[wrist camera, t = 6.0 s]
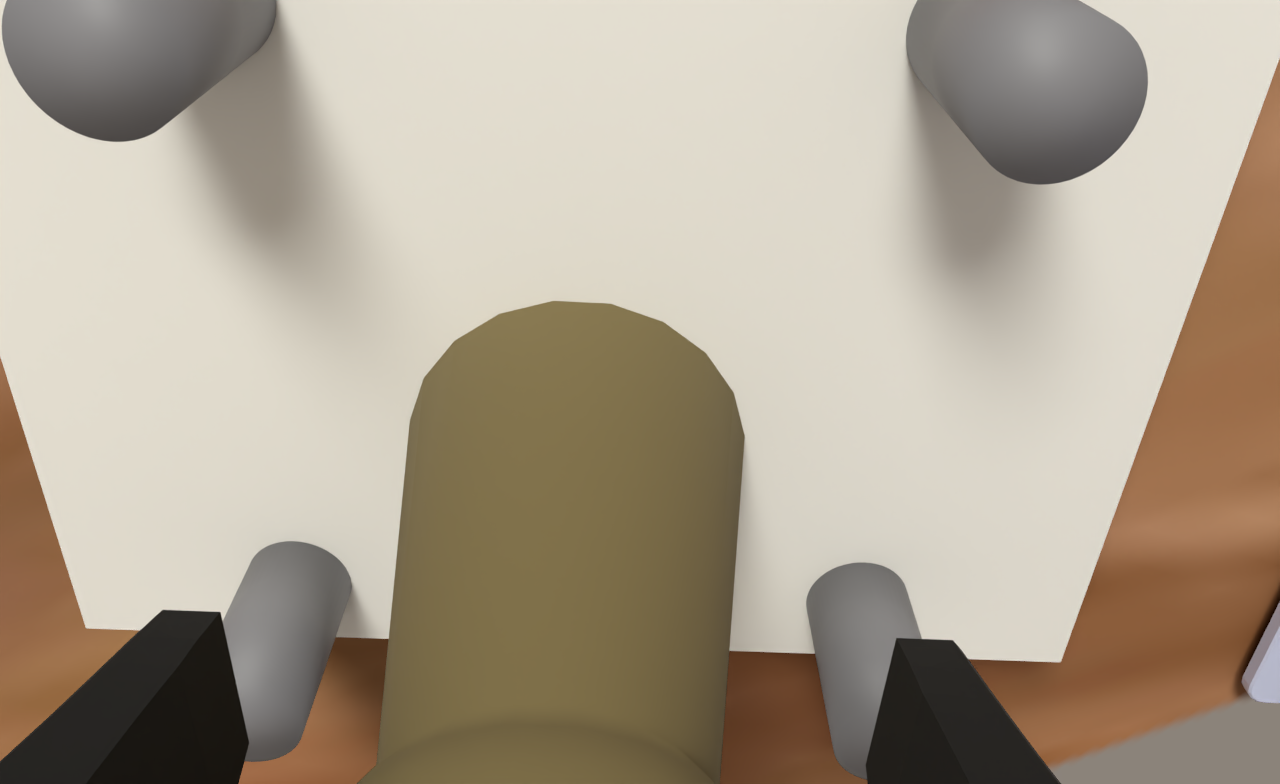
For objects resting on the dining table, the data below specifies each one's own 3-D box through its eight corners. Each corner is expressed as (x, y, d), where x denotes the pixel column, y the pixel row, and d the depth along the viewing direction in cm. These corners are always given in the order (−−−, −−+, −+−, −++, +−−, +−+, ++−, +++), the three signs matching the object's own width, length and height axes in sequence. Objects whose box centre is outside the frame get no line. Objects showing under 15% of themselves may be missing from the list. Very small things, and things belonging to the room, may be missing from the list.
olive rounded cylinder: (638, 618, 21) (639, 1315, 12) (356, 498, 19) (96, 1195, 10) (811, 398, 18) (993, 1078, 9) (501, 238, 17) (329, 861, 7)
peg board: (1268, -81, 16) (1503, -16, 11) (1037, 611, 23) (1127, 808, 19) (-91, -153, 15) (-375, -113, 11) (117, 578, 23) (-5, 772, 18)
